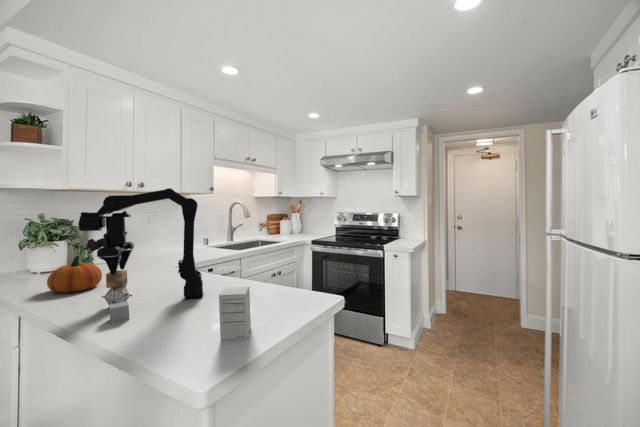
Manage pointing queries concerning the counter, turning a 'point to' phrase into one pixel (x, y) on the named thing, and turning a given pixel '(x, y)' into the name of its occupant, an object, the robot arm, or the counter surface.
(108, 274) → the brown metallic block
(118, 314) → the grey block
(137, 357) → the counter surface
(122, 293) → the game die
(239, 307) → the supplement box
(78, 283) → the pumpkin
